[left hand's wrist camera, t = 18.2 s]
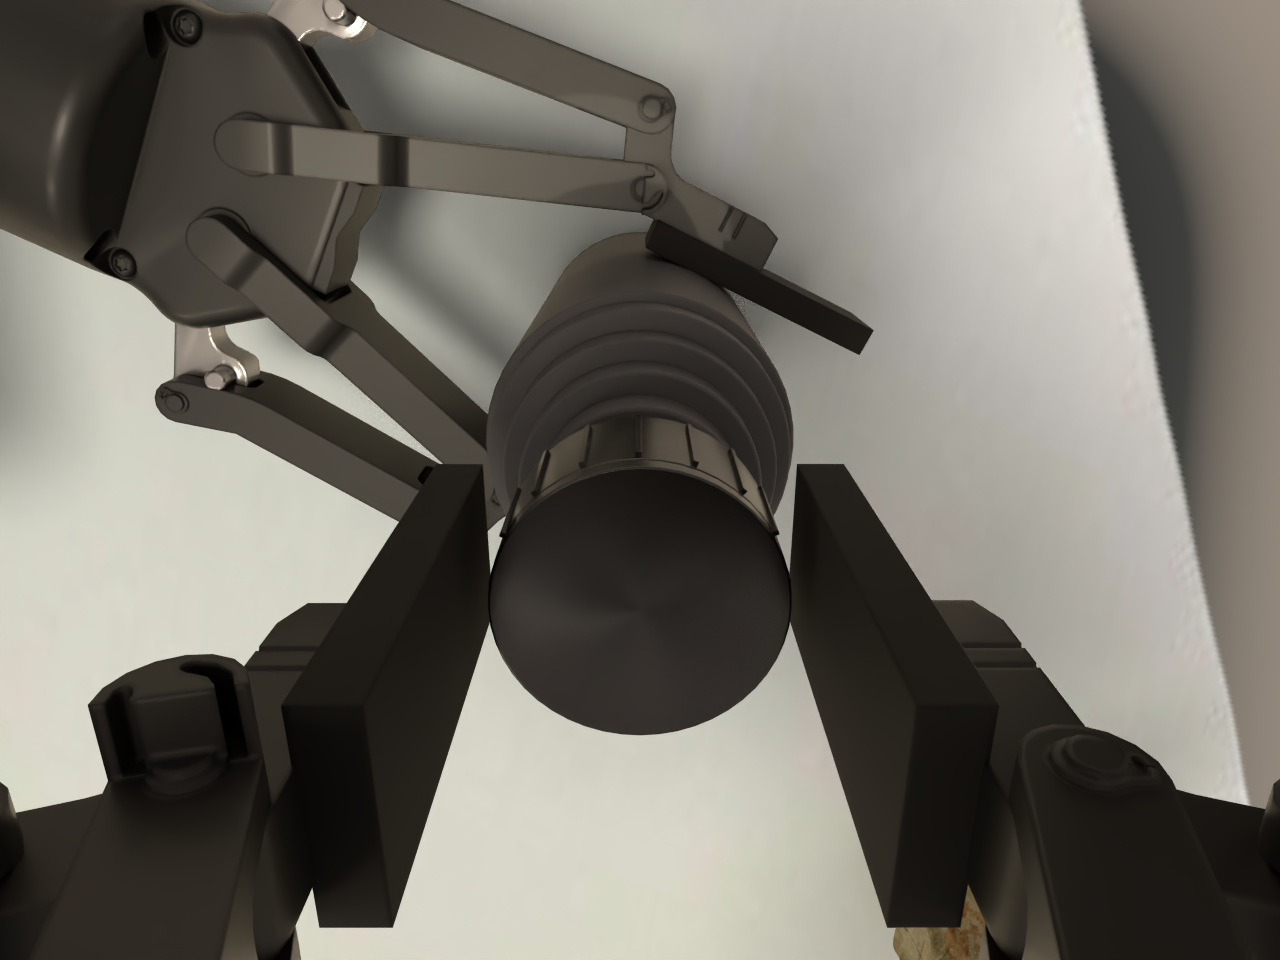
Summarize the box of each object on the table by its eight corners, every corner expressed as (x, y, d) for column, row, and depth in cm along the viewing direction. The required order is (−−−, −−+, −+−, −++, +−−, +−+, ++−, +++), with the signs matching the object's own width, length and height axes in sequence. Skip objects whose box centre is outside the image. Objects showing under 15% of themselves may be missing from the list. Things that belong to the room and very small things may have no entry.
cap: (617, 696, 16) (613, 787, 13) (452, 518, 14) (417, 584, 12) (821, 562, 15) (854, 636, 12) (664, 358, 13) (670, 399, 11)
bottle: (768, 295, 31) (961, 513, 12) (671, 449, 33) (712, 833, 15) (604, 194, 30) (546, 271, 11) (514, 361, 32) (339, 659, 13)
